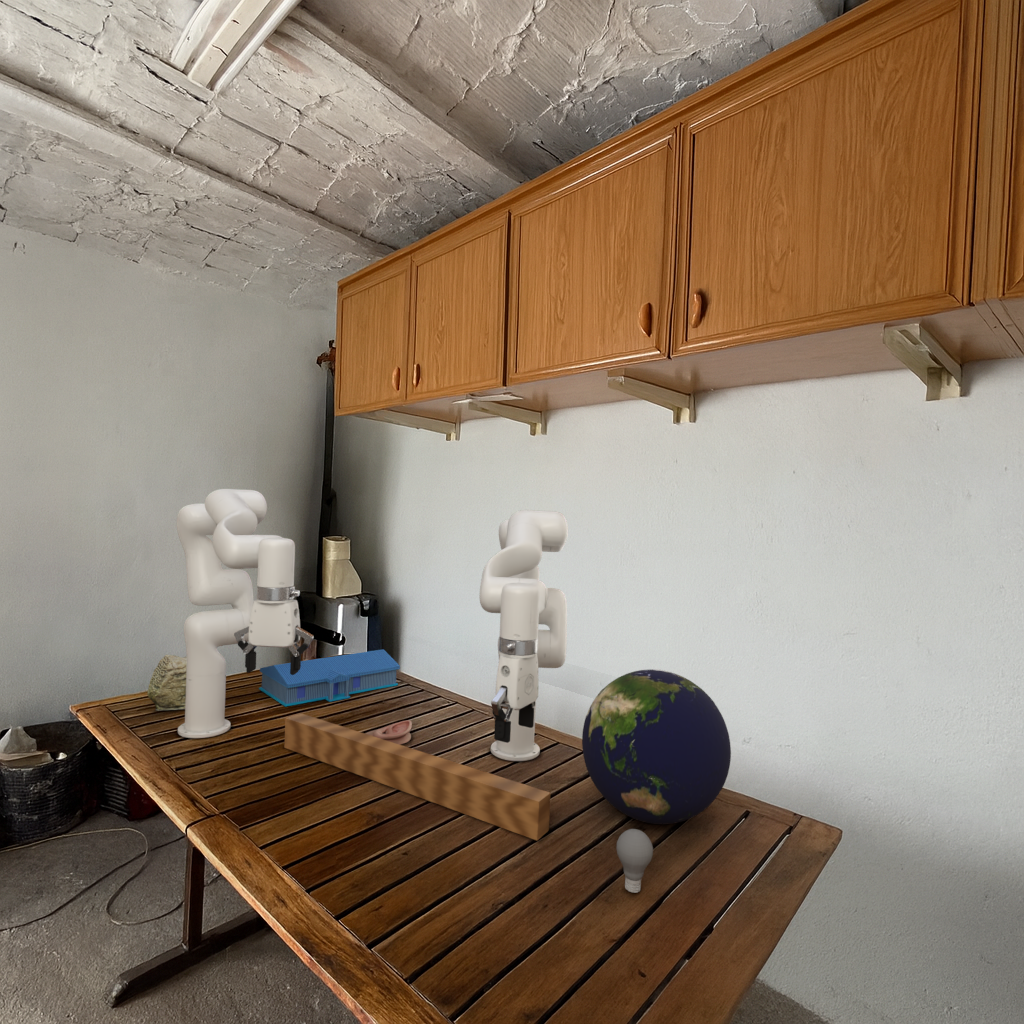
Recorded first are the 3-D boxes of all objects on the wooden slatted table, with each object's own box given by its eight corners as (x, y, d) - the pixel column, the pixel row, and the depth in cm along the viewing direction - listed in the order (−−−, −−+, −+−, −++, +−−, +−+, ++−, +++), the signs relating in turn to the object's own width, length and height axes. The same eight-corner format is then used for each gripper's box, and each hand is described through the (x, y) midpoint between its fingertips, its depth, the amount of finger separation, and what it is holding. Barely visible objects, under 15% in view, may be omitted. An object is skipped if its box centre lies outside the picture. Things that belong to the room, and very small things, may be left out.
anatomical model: (352, 728, 162) (370, 714, 173) (351, 744, 162) (370, 728, 173) (400, 734, 159) (416, 719, 171) (400, 750, 159) (416, 734, 171)
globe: (560, 832, 123) (567, 679, 123) (598, 773, 151) (604, 648, 150) (721, 872, 112) (730, 704, 111) (731, 800, 140) (737, 665, 139)
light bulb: (610, 879, 108) (613, 822, 108) (644, 879, 109) (647, 822, 109) (619, 902, 102) (622, 840, 102) (655, 901, 103) (658, 840, 103)
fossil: (144, 707, 182) (145, 655, 182) (212, 696, 194) (213, 647, 194) (151, 716, 175) (153, 662, 175) (221, 703, 188) (223, 653, 188)
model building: (289, 709, 186) (291, 675, 185) (258, 688, 204) (259, 657, 204) (403, 687, 212) (405, 657, 212) (366, 670, 230) (368, 643, 230)
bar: (284, 747, 158) (285, 717, 158) (299, 742, 162) (300, 713, 162) (537, 840, 120) (538, 801, 120) (548, 830, 124) (550, 792, 124)
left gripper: (320, 593, 142) (317, 669, 142) (244, 590, 143) (242, 666, 143) (308, 598, 134) (305, 678, 135) (228, 595, 135) (225, 674, 135)
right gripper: (513, 657, 115) (509, 751, 115) (554, 641, 130) (550, 724, 130) (478, 651, 118) (474, 742, 119) (521, 636, 134) (518, 717, 134)
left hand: (272, 672), depth 139 cm, fingers open, 9 cm apart
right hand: (514, 733), depth 124 cm, fingers open, 9 cm apart
